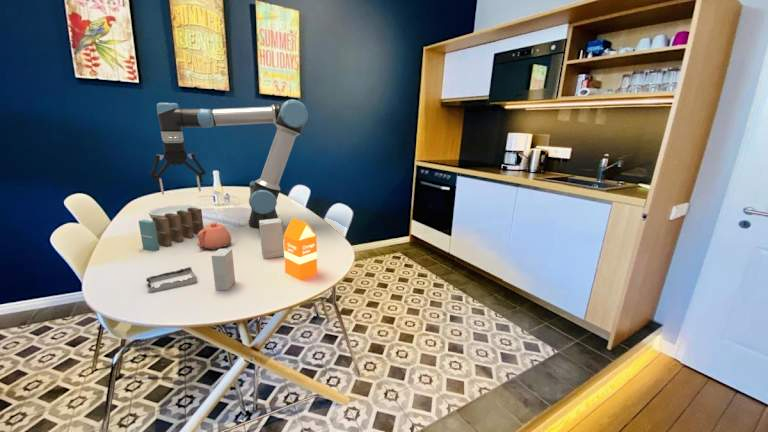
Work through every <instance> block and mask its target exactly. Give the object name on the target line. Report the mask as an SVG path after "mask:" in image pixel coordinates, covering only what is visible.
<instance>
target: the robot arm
mask: <svg viewBox="0 0 768 432" xmlns="http://www.w3.org/2000/svg"><path fill="white" fill-rule="evenodd" d="M156 111H157V112H156V113H157V114H156V115H157V118H158V122H159V128H160V134H161V135H160V136H161V140H162V142H163V143H162V145H163V147H162V148H163V152H164V153H163V154H155V162H154V165H153V166H152V169H151V171H150V174H149V177H150V178H151V179H154V180H155V182H156V186H157V187H160V191H161V195H163V196H164V195H165V192H164V191H165V190H164V185H163V181H162V178H161V176H162V175H163V174H164V172H165V171H166V170H167V169H168V168H169V166H171V165H172V166H176V165H179V166H181V165H183V164H184V165H185V166H187V168H189V169H190V170H192V172H193V173H195V174H196V176H195V177H196V182H197V189H198V192H202V188H201V184H203V176H204V175H206V174H207V172H206V170H205V169H204V168H203V166H202V165H201V164H200V163H199V161H198V160H197V159H196V155H195V153H193V152H191V153H188V154H187V152H186V147H185V146H186V145H185V143H184V134H183V128H203V129H207V128H213V127H222V126H223V127H224V126H240V125H241V126H243V125H260V124H274V125H275V128H276V132H275V136H274V137H273V140H272V143H271V146H270V149H269V153H268V155H267V157H266V161H265V163H264V167H263V169H262V173H261V175H260V177H259V178H258V179H256V180H252V181H250V182H249V191H250V194H249V198H248V204H249V206H250V209H251V212H250V214H249V215H250V216H249V220H248V226H249V227H250V228H252V229H259V230H260V227H259V220H267V219H276V218H279V215H278V213H277V210H276V207H277V203H278V201H277V200H278V197H279V194H280V191H281V187H280V182H281V179H282V176H283V174H284V171H285V168H286V165H287V162H288V161H289V157H290V154H291V152H292V149H293V147H294V143H295V140H296V138H297V137H299V136H301V134H302V131H303V129H304V126H305V124H306V123H307V121H308V118H309V113H308V109H307V107H306V105H305V104H304V103H303V102H301V101H300V100H297V99H294V98H292V99H288V100H286V101H284V102H282V103H273V104H271V105H270V106H254V107H253V106H252V107H231V108H229V107H228V108H184V107H183V108H182V107H179V104H178V103H176V102H158V103H157V104H156ZM188 158H189V159H191V160H192V161H193V162H194V163H195V165H196V166H197V167H198V169H199V170H200V171H199V170H197V168H195V167H194V166H193V165H192V164H190V163H189V162H188V161H187V159H188ZM163 159H165V160H166V162H165V163H164V165H163V167H161V169H160V170H159V171H158V173H157V174H156V171H157V169H158V166H159V165H160V164H159V163H160V161H162V160H163Z"/></svg>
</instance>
